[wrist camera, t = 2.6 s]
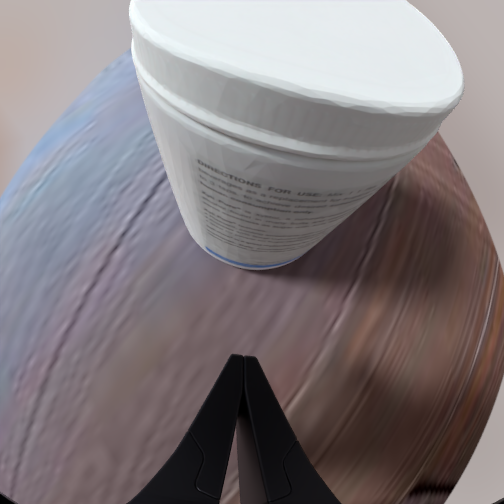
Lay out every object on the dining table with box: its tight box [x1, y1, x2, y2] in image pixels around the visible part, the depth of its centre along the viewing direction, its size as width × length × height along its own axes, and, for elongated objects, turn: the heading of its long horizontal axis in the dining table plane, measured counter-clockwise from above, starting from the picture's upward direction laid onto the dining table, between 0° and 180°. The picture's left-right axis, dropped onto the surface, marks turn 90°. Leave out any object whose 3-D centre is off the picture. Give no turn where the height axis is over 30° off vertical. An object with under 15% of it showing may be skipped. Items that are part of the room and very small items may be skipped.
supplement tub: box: [129, 0, 464, 270], centre depth 12 cm, size 10×10×15 cm
